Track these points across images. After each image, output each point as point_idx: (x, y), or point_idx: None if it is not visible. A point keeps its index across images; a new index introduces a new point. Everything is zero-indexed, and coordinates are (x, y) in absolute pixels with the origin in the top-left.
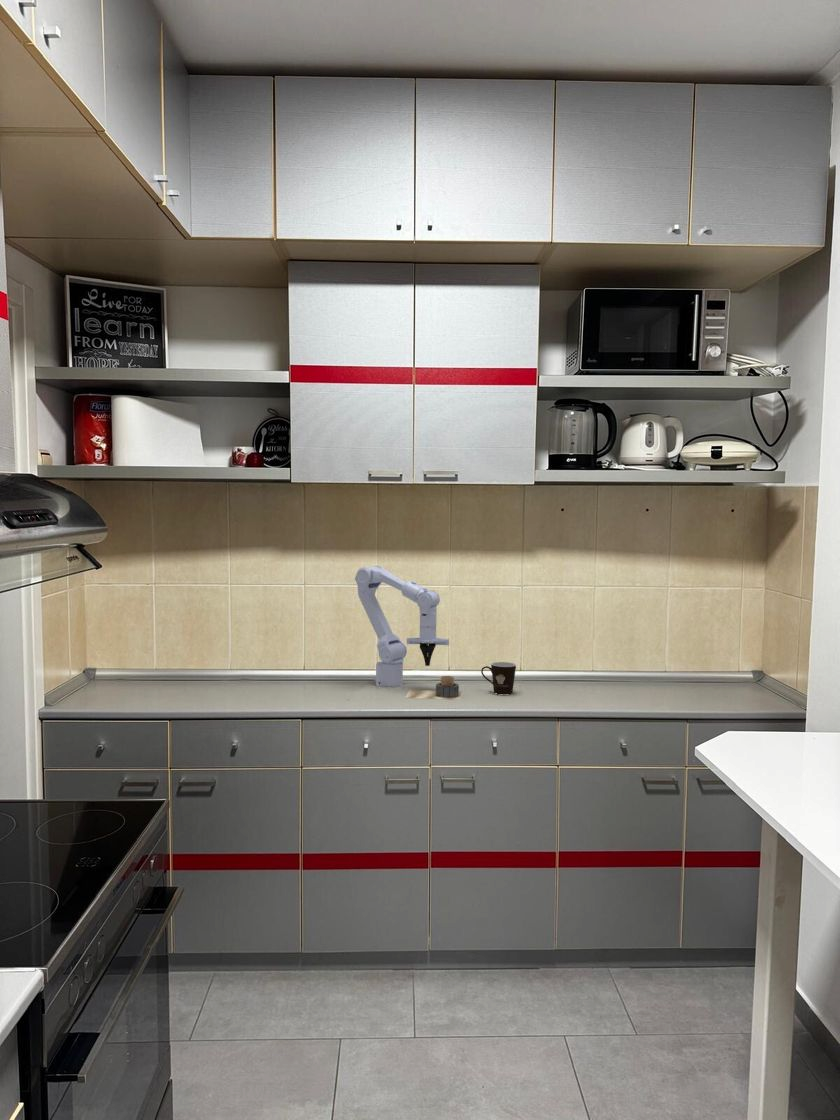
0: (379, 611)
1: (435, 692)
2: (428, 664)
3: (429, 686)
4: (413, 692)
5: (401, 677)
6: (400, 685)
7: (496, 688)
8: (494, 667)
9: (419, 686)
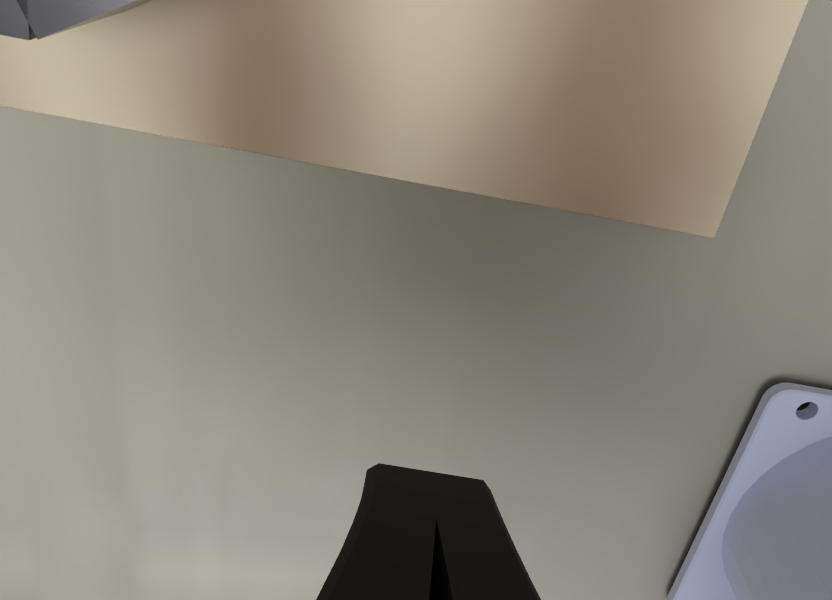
0: None
1: (296, 9)
2: (393, 485)
3: None
4: (697, 27)
5: (813, 576)
6: (783, 477)
7: None
8: None
9: None
